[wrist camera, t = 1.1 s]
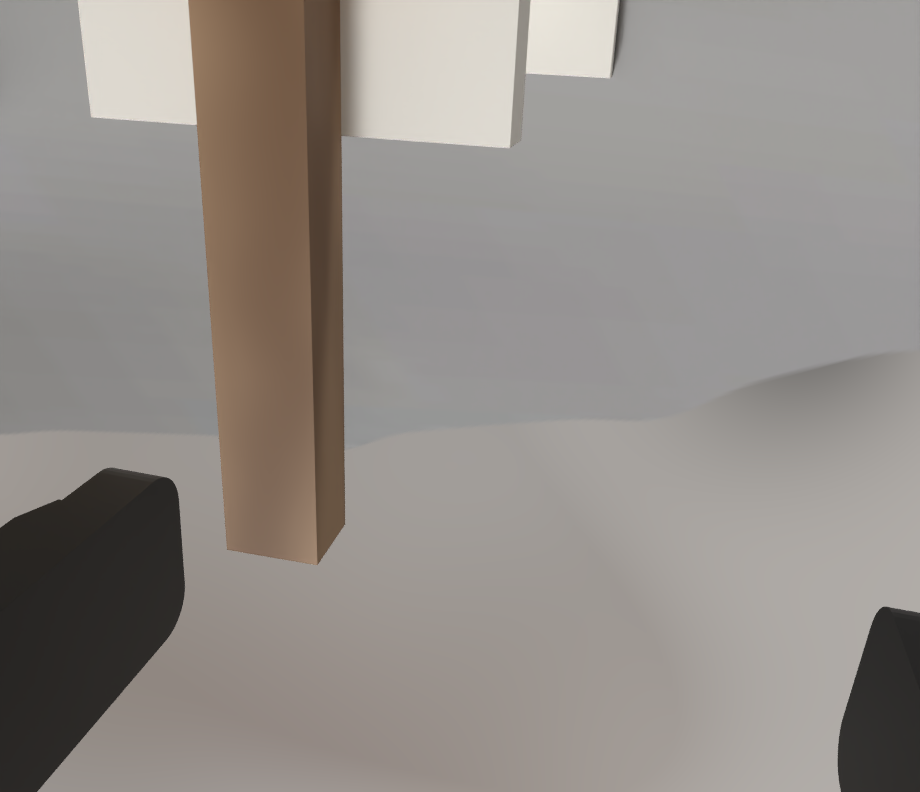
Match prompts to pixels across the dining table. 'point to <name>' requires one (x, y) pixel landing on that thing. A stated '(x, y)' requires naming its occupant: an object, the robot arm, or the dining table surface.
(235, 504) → the tan angular block
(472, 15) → the white pedestal stand
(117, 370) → the dining table surface
